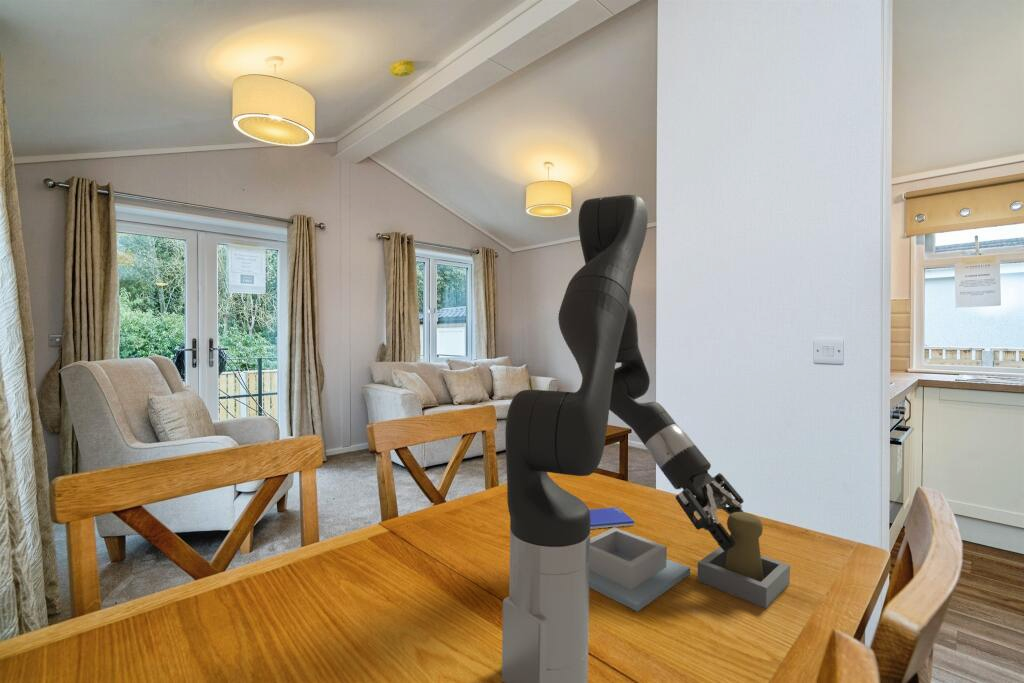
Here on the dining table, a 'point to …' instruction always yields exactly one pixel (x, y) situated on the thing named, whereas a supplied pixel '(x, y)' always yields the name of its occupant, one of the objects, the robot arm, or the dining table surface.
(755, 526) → the cork
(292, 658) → the dining table surface
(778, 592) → the holster
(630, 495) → the dining table surface
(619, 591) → the dock
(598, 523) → the blue book
